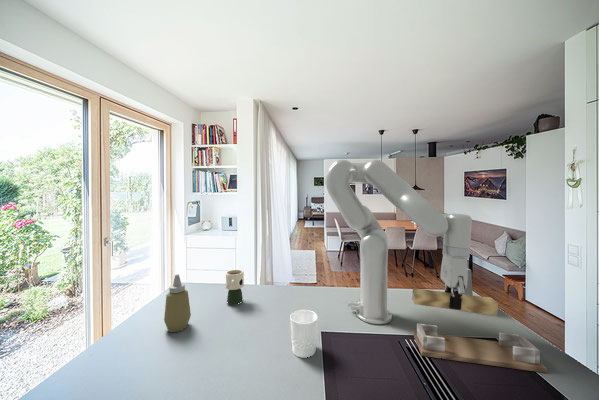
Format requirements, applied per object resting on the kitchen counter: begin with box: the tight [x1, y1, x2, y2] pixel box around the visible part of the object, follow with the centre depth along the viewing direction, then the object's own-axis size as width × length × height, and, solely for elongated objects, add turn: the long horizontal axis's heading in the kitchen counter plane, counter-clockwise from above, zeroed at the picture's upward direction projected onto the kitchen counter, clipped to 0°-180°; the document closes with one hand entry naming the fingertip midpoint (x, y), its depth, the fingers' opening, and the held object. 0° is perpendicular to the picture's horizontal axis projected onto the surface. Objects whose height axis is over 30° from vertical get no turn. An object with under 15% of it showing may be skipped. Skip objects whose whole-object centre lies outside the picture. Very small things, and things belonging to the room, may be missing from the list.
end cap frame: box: [412, 323, 548, 374], centre depth 69 cm, size 29×10×5 cm, turn 77°
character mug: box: [225, 269, 245, 305], centre depth 100 cm, size 11×7×13 cm, turn 6°
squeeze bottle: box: [163, 273, 192, 333], centre depth 82 cm, size 8×8×18 cm
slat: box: [411, 287, 499, 316], centre depth 81 cm, size 24×4×4 cm, turn 77°
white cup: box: [289, 309, 319, 359], centre depth 70 cm, size 8×8×10 cm
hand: (452, 304), depth 81 cm, fingers closed on slat, 4 cm apart
